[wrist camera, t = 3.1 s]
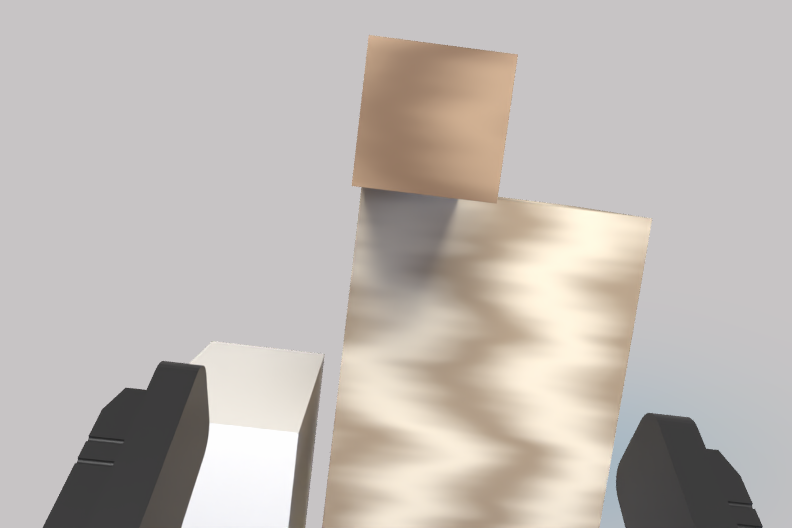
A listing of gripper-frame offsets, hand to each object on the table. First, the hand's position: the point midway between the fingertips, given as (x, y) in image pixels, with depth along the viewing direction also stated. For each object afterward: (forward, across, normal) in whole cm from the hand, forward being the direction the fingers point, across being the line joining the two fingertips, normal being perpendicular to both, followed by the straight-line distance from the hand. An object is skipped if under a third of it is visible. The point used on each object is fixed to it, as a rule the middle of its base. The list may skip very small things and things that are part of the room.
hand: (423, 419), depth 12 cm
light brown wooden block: (+17, 0, -5) cm, 18 cm away
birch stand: (+5, +4, -35) cm, 36 cm away
